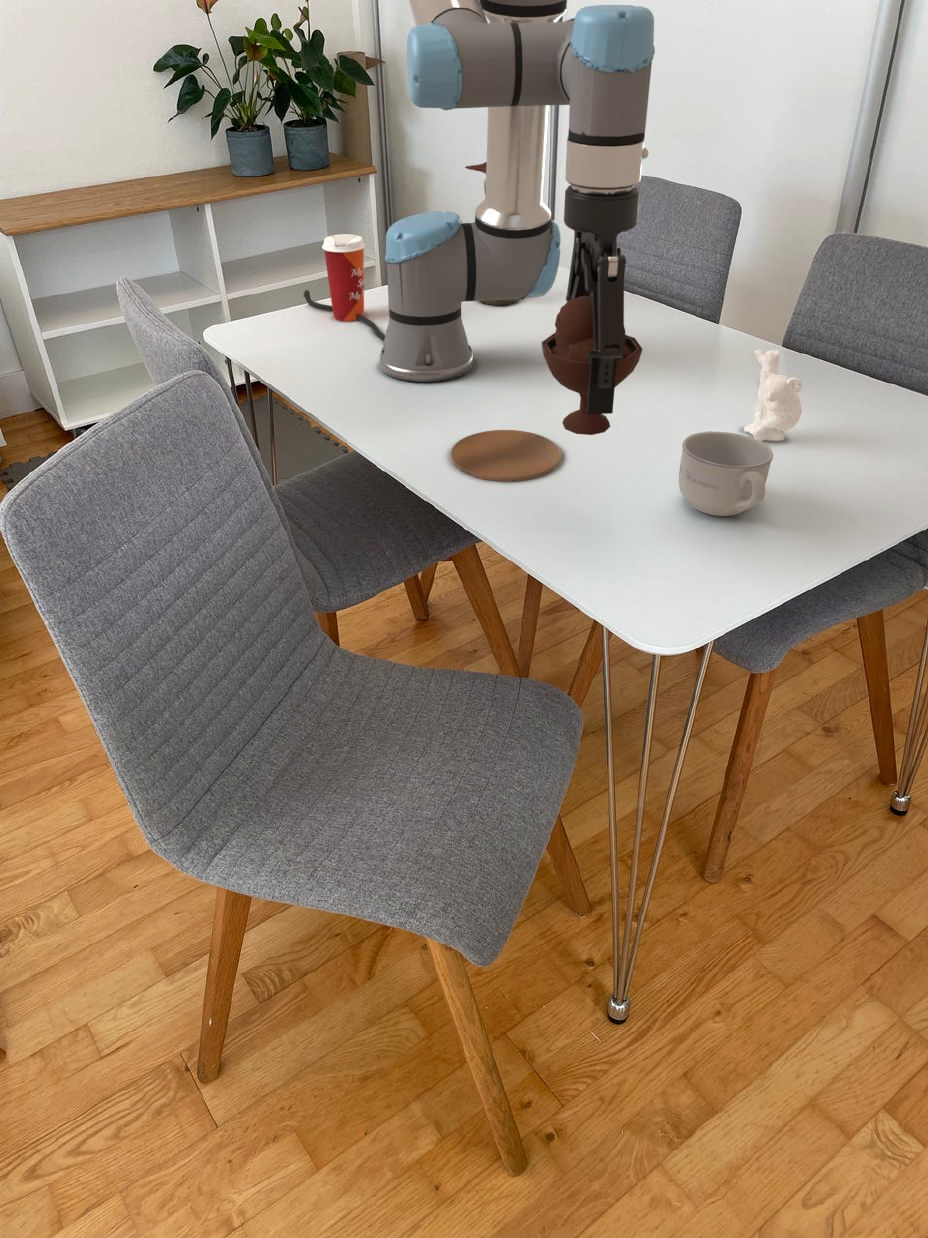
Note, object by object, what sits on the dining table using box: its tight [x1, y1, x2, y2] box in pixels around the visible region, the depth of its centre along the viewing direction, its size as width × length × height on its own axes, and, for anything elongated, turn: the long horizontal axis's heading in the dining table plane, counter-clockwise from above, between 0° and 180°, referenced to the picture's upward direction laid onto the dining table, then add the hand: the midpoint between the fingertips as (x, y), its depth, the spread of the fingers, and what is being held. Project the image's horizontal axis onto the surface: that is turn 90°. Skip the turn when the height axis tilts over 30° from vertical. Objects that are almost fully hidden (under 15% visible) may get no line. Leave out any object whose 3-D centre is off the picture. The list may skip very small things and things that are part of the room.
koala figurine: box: [743, 348, 802, 442], centre depth 139 cm, size 8×7×12 cm
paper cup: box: [321, 233, 366, 322], centre depth 183 cm, size 8×8×14 cm
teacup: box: [678, 430, 774, 517], centre depth 123 cm, size 14×11×8 cm
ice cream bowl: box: [541, 296, 643, 436], centre depth 112 cm, size 11×11×15 cm
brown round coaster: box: [450, 429, 562, 482], centre depth 138 cm, size 15×15×1 cm
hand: (588, 391), depth 114 cm, fingers closed on ice cream bowl, 11 cm apart
